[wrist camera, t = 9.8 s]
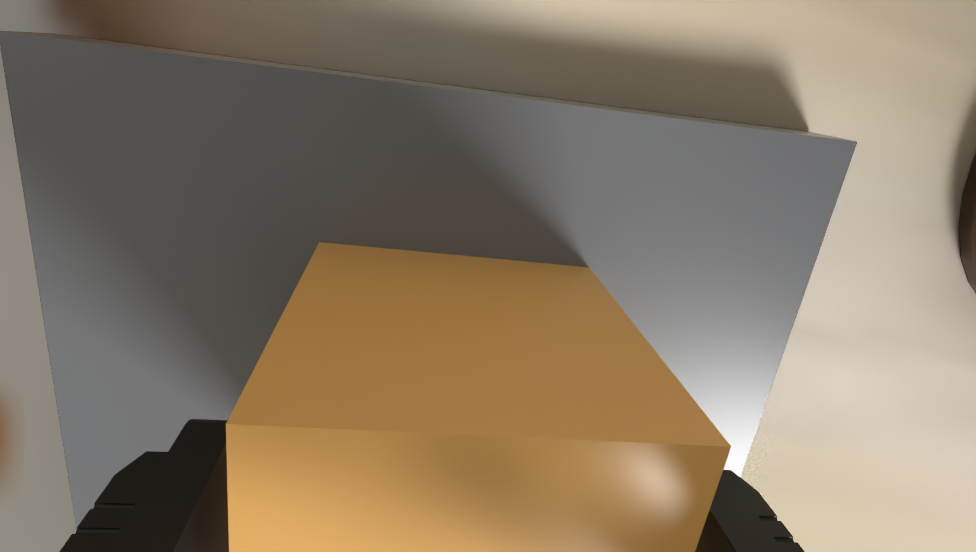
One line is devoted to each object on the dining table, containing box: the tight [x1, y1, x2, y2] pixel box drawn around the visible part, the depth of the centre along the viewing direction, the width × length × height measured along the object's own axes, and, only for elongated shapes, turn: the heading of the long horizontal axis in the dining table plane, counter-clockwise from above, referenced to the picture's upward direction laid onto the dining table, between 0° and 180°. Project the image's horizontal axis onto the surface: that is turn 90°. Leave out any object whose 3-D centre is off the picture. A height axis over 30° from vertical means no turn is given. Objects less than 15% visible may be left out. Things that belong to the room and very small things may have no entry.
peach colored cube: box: [226, 242, 731, 552], centre depth 10 cm, size 6×6×6 cm
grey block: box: [0, 31, 857, 529], centre depth 11 cm, size 16×12×6 cm
